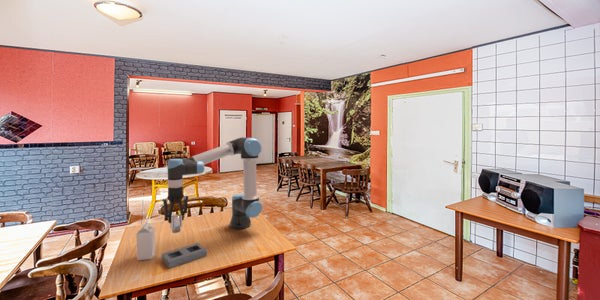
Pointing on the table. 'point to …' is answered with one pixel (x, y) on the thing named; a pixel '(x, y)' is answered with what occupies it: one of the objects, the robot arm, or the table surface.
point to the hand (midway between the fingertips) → (176, 227)
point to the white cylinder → (176, 224)
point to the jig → (183, 255)
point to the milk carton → (145, 242)
